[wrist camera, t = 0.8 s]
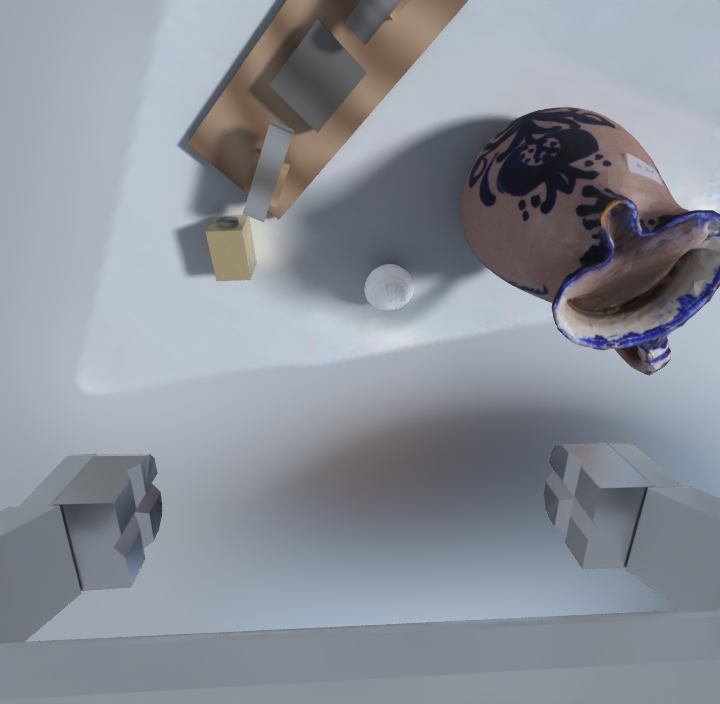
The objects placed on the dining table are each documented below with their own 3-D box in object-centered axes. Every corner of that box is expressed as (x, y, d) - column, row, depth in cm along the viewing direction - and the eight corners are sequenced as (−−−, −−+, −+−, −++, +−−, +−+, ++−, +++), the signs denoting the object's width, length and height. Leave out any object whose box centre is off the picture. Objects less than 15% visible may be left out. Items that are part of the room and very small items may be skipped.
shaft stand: (374, -124, 39) (381, -150, 33) (464, 1, 44) (485, -2, 38) (190, 140, 50) (170, 158, 44) (279, 215, 55) (273, 240, 49)
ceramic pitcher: (559, 56, 47) (730, 86, 27) (635, 212, 57) (801, 321, 37) (418, 173, 53) (471, 270, 33) (509, 296, 63) (592, 428, 43)
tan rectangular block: (214, 213, 55) (204, 229, 51) (248, 212, 55) (241, 227, 51) (225, 265, 59) (216, 283, 55) (256, 263, 59) (251, 282, 55)
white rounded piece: (402, 246, 58) (409, 271, 53) (416, 287, 62) (424, 314, 56) (355, 263, 59) (358, 289, 54) (372, 302, 63) (375, 331, 57)
